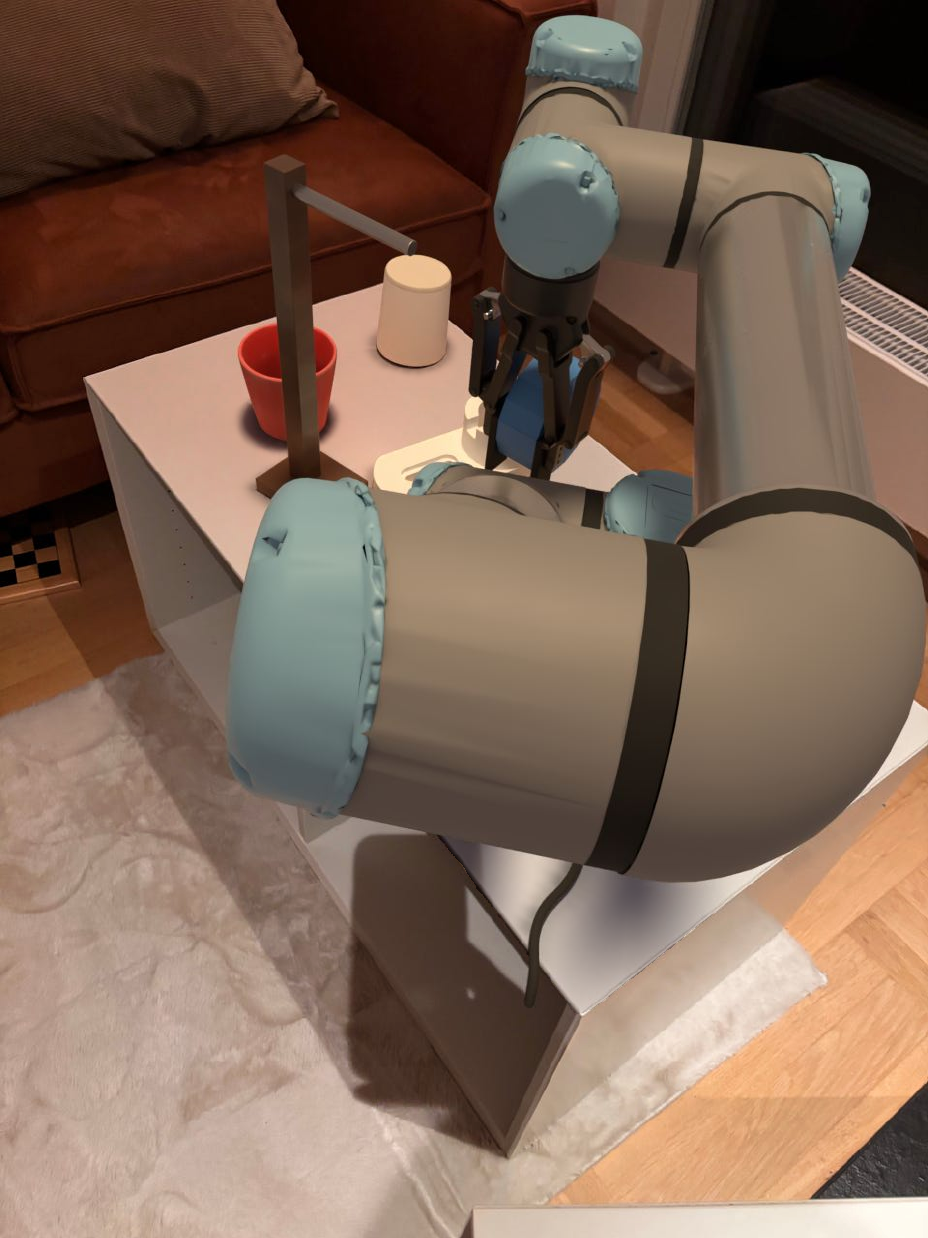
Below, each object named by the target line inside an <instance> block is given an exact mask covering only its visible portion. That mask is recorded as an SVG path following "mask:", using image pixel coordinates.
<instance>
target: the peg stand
mask: <svg viewBox="0 0 928 1238" xmlns="http://www.w3.org/2000/svg"><path fill="white" fill-rule="evenodd" d="M262 165H263V176H264V186H265V187H264V188H265V200H266V211H267V212H266V213H267V225H268V234H269V236H268V237H269V246H270V247H269V248H270V260H271V270H272V282H273V283H272V284H273V292H274V306H275V317H276V318H275V319H276V323H277V331H278V343H279V354H280V366H281V378H282V390H283V402H284V413H285V425H286V437H287V441H286V447H287V457H285V458H284V459H282V460H281V461H279V462H278V463H277V464H275V465H274V466H272V467H270V468H268V469H267V470H266V471H264V472H262V473H261V474H260V475H258V476H257V477H256V478H255V487H256V490H257V491H259V492H260V493H262V494H263V495H265V496H266V497H268V498H269V499H270V500H271V499H272V497H273V496H274V495H275V493H276V492H277V491H278V490H279V489H280V488H281V487H282V486H283V485H284V484H286V483H288V482H290V481H292V480H295V479H299V478H312V479H320V480H327V481H335V482H336V481H338V480H340V479H342V478H348V477H349V478H352V479H355V480H358V481H361V482H362V483H364V484H365V485H366V486H367V487H369V480H368V479H366V478H364V477H363V476H361V475H359V474H358V473H357V472H355V471H353V470H352V469H350V468H348V467H347V466H345V465H343V464H342V463H340V462H339V461H337V460H336V459H334V458H333V457H331V456H330V455H327V453H324V452H323V451H321V446H320V432H319V425H318V405H317V385H316V365H315V345H314V327H315V325H314V309H313V308H314V306H313V287H312V286H313V285H312V269H311V268H312V267H311V246H310V229H309V227H310V226H309V208H308V207H311V208H312V209H315V210H317V211H319V212H321V213H323V214H324V215H327V216H328V217H330V218H332V219H334V220H336V221H338V222H340V223H342V224H344V225H346V226H348V227H350V228H352V229H354V230H355V231H358V232H360V233H362V234H364V235H366V236H368V237H370V238H372V239H374V240H376V241H378V242H380V243H382V244H384V245H386V246H388V247H390V248H392V249H394V250H396V251H398V252H400V253H402V254H404V255H408V256H413V255H416V253H417V250H418V242H417V241H416V240H414V239H412V238H410V237H408V236H407V235H405V234H402V233H401V232H398V231H396V230H394V229H392V228H391V227H388V226H386V225H385V224H382V223H380V222H378V221H376V220H374V219H372V218H371V217H368V216H366V215H364V214H362V213H361V212H358V211H356V210H354V209H352V208H350V207H348V206H346V205H344V204H342V203H340V202H338V201H336V200H334V199H331V198H330V197H328V196H326V195H323V194H321V193H319V192H318V191H315V190H314V189H311V188H310V187H307V169H306V168H307V166H306V163H304V162H302V161H300V160H298V159H296V158H294V157H291V156H289V155H288V154H286V153H284V154H281V155H277V156H276V157H274V158H272V159H269V160H267V161H264V162H263V164H262Z"/></svg>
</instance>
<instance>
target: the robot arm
mask: <svg viewBox="0 0 928 1238" xmlns="http://www.w3.org/2000/svg"><path fill="white" fill-rule="evenodd" d="M533 34H534V35H533V37H532V42H531V47H530V53H529V59H528V65H527V66H526V67H525V77H526V79H525V89H524V97H523V102H522V107H521V111H520V114H519V117H518V119H517V120H518V121H517V123H516V126H515V129H514V134H513V140H512V142H511V144H510V148H509V150H508V153H507V154H506V157H505V159H504V160H503V162H502V164H501V167H500V171H499V178H498V186H497V192H496V195H495V200H494V205H493V221H494V228H495V233H496V236H497V238H498V241H499V243H500V246H501V247H502V249H503V250H504V252H505V253H504V261H503V269H502V277H501V284H500V285H501V291H500V292H498V289H496V288H495V287H493V286H489V287H488V288H486V289H484V290H483V291H481V292H480V293H478V294H477V295H475V296H473V297H472V298H471V299H470V302H469V305H470V309H471V314H472V315H471V316H472V319H473V330H472V332H473V334H472V343H471V353H470V354H471V355H470V365H469V366H470V368H469V379H468V387H467V388H468V393H469V395H470V396H471V397H472V396H473V397H479V398H480V399H481V400H482V401H483V405H484V408H485V416H484V424H483V431H484V434H485V435H487V436H489V437H488V445H487V453H486V461H485V469H482V468H477V467H473V466H472V465H470V464H467V463H463V462H452V463H444V462H433V463H430V464H428V465H426V466H425V467H423V468H422V469H421V470H420V471H419V472H418V473H417V475H416V476H415V478H414V480H413V482H412V488H410V489H409V490H408V492H407V494H403V493H398V492H392V491H387V490H381V489H375V488H373V487H369V486H368V487H367V486H366V485H365V484H364V483H362V482H361V481H358V480H355V479H352V478H349V477H348V478H342V479H340V480H338V481H336V482H335V481H327V480H320V479H312V478H299V479H295V480H292V481H290V482H288V483H286V484H284V485H283V486H282V487H281V488H280V489H279V490H278V491H277V492H276V493H275V495H274V496H273V497H272V499H271V498H270V501H268V504H267V506H266V509H265V511H264V512H263V516H262V518H261V521H260V524H259V525H258V526H259V527H258V529H257V532H256V534H255V538H254V541H253V545H252V548H251V553H250V555H249V559H248V563H247V567H246V572H245V576H244V579H243V585H242V589H241V593H240V598H239V605H238V609H237V614H236V619H235V626H234V631H233V632H234V633H233V638H232V639H233V640H232V644H231V652H230V659H229V665H228V666H229V668H228V676H227V685H226V695H225V698H226V699H225V713H224V736H225V737H224V738H225V751H226V757H227V763H228V767H229V768H230V771H231V773H232V775H233V777H234V779H235V780H236V782H237V783H238V784H239V786H240V787H241V788H243V789H244V790H245V791H246V792H248V793H249V794H251V795H253V796H254V797H256V798H260V799H264V800H268V801H272V802H277V803H280V804H284V805H287V806H290V807H291V806H292V807H296V808H298V809H302V810H305V811H307V812H308V813H309V815H311V816H312V817H314V818H317V819H319V820H326V821H327V820H333V819H335V818H337V817H338V816H339V815H340V816H346V817H351V818H356V819H361V820H365V821H370V822H373V823H378V824H379V823H380V824H383V825H389V826H394V827H399V828H404V829H408V830H412V831H417V832H423V833H427V834H433V835H437V836H441V837H447V838H452V839H457V840H461V841H466V842H471V843H476V844H479V845H485V846H491V847H495V848H500V849H504V850H509V851H515V852H519V853H525V854H528V855H533V856H539V857H543V858H549V859H554V860H558V861H562V862H568V863H571V866H570V868H569V870H568V871H567V874H566V875H565V876H564V877H563V879H562V880H561V882H559V884H558V885H557V886H556V887H555V888H554V889H553V890H552V891H550V893H549V894H548V895H547V896H546V897H545V898H544V899H543V901H542V903H541V904H540V905H539V907H538V909H537V910H536V912H535V914H534V917H533V918H532V922H531V925H530V930H529V938H528V976H527V977H528V978H527V985H526V989H525V994H524V999H523V1005H524V1007H525V1008H527V1009H531V1008H533V1007H534V1006H535V1003H536V998H537V994H538V989H539V981H540V941H541V940H540V939H541V933H542V929H543V925H544V924H545V920H546V918H547V916H548V914H549V912H551V910H552V909H553V908H554V906H555V905H556V904H557V903H558V902H559V901H560V899H561V898H562V897H563V896H564V895H565V894H566V893H567V892H568V891H569V890H570V889H571V888H572V886H573V885H574V883H576V880H577V879H578V877H579V875H580V873H581V870H582V868H583V866H586V867H590V868H595V869H600V870H605V871H610V872H615V873H617V874H618V875H621V876H626V877H629V878H633V879H637V880H642V881H648V882H649V881H650V882H656V883H657V882H658V883H666V884H667V883H668V884H674V883H675V884H677V883H678V884H680V883H699V882H704V881H705V882H706V881H711V880H718V879H723V878H726V877H730V876H734V875H737V874H741V873H744V872H748V871H752V870H755V869H757V868H758V867H761V866H762V865H765V864H767V863H769V862H772V861H774V860H775V859H778V858H780V857H782V856H784V855H786V854H788V853H790V852H792V851H795V849H798V848H799V847H800V846H802V845H804V844H805V843H806V842H808V841H809V840H811V839H813V838H814V837H816V836H817V835H819V833H821V832H822V831H823V830H825V829H826V827H828V826H829V825H830V824H832V823H833V822H834V821H835V820H836V819H838V817H839V816H840V815H841V814H842V813H843V812H844V811H845V810H846V809H847V808H848V807H849V806H850V805H852V803H853V802H854V801H855V800H856V799H857V798H858V797H859V796H860V795H861V794H862V793H863V792H864V790H865V789H866V788H867V787H868V786H869V784H870V783H871V782H872V781H873V779H874V778H875V777H876V775H877V774H878V773H879V771H880V770H881V768H882V767H883V765H884V764H885V762H886V760H887V759H888V757H889V755H890V754H891V752H892V750H893V749H894V746H895V744H896V742H897V740H898V738H899V737H900V735H901V733H902V730H903V728H904V727H905V725H906V723H907V721H908V719H909V716H910V712H911V710H912V707H913V703H914V700H915V698H916V694H917V691H918V687H919V686H920V681H921V679H922V675H923V668H924V660H925V654H926V653H925V652H926V646H927V600H926V596H925V595H926V594H925V589H924V585H923V577H922V574H921V573H922V572H921V569H920V564H919V559H918V555H917V551H916V547H915V544H914V540H913V538H912V536H911V534H910V532H909V530H908V529H907V527H906V526H905V524H904V523H903V522H902V520H901V519H900V518H898V516H897V515H896V514H895V513H894V512H893V511H892V510H890V509H889V508H888V507H886V506H884V505H883V504H882V503H881V502H879V501H878V498H877V494H876V489H875V482H874V477H873V476H874V475H873V471H872V465H871V459H870V454H869V448H868V443H867V437H866V432H865V431H866V430H865V427H864V420H863V415H862V410H861V404H860V399H859V393H858V388H857V383H856V376H855V371H854V364H853V359H852V354H851V353H852V352H851V348H850V342H849V337H848V332H847V327H846V321H845V320H846V319H845V314H844V310H843V304H842V299H841V293H840V288H839V285H840V284H841V282H842V281H843V280H844V279H845V278H846V276H847V274H848V273H849V271H850V269H851V267H852V265H853V264H854V261H855V259H856V256H857V254H858V251H859V249H860V246H861V244H862V240H863V236H864V235H865V230H866V226H867V222H868V217H869V211H870V210H869V207H868V206H869V201H870V198H871V186H870V180H869V178H868V175H867V174H866V173H865V171H864V170H863V169H862V168H860V167H858V166H856V165H853V164H849V163H845V162H841V161H837V160H833V159H829V158H826V157H822V156H821V155H819V154H817V153H809V152H801V153H799V152H798V153H797V152H790V151H783V150H778V149H777V150H776V149H771V148H763V147H757V146H750V145H743V144H737V143H729V142H722V141H715V140H709V139H701V138H697V137H691V136H686V135H679V134H673V133H667V132H661V131H654V130H648V129H643V128H636V127H631V126H630V125H631V120H632V115H633V110H634V105H635V104H634V103H635V101H636V95H638V94H639V89H640V88H639V87H640V85H639V81H640V73H641V68H642V62H643V56H644V49H643V44H642V42H641V40H640V37H638V35H637V34H636V33H635V32H634V31H633V30H631V29H630V28H628V27H627V26H625V25H623V24H621V23H619V22H616V21H614V20H610V19H607V18H602V17H595V16H589V15H578V14H574V15H573V14H571V15H561V16H556V17H553V18H550V19H547V20H546V21H544V22H543V23H542V24H540V25H539V26H538V28H537V29H536V30H535V31H534V33H533ZM602 258H604V259H611V260H617V261H621V262H622V261H623V262H630V263H635V264H641V265H646V266H647V265H648V266H654V267H658V268H659V267H660V268H665V269H671V270H676V271H682V272H687V273H692V274H693V273H694V274H696V276H697V278H696V279H697V280H696V322H695V325H696V326H695V365H694V408H693V443H692V444H693V448H692V449H693V451H692V476H689V475H687V474H683V473H681V472H680V473H679V472H677V471H672V470H667V469H643V470H640V471H639V472H637V474H635V473H630V474H627V475H625V476H624V477H622V478H621V479H620V480H619V481H617V482H616V484H614V486H613V487H610V490H609V491H604V490H599V489H594V488H587V487H586V486H581V485H575V484H569V483H566V482H565V483H564V482H559V481H553V480H551V477H552V473H551V472H552V470H553V469H554V468H555V467H557V466H558V465H559V464H560V463H561V462H562V458H563V453H564V449H565V448H567V449H573V448H574V447H575V446H576V445H577V444H578V443H579V444H580V443H581V442H582V441H583V440H585V438H587V437H588V436H589V434H590V429H591V425H592V422H593V419H594V416H593V414H594V415H595V413H594V410H595V406H596V402H597V398H598V394H599V390H600V386H601V387H602V382H603V378H604V374H605V371H606V369H607V368H608V367H609V365H610V364H611V362H612V361H613V360H614V358H615V357H616V350H615V348H614V347H613V346H612V345H609V344H606V345H604V346H603V347H602V346H601V345H600V343H598V342H597V341H596V340H595V339H594V338H593V337H592V336H591V325H590V321H589V312H590V310H591V307H592V305H593V301H594V296H595V292H596V287H597V282H598V278H599V273H600V270H601V269H600V268H601V259H602ZM502 320H503V323H504V325H505V328H506V330H507V334H506V336H505V339H504V341H503V344H502V347H501V349H500V353H501V356H500V358H499V361H498V354H499V347H500V338H501V337H500V336H501V328H502ZM577 348H578V350H579V353H580V356H579V360H580V362H579V363H578V366H579V368H581V370H580V371H579V373H578V376H577V379H576V382H575V387H574V391H573V396H572V400H571V405H570V365H571V364H572V360H573V356H574V355H573V353H574V352H573V351H574V350H575V349H577ZM527 355H529V356H531V357H532V358H533V359H534V358H535V359H536V360H537V361H538V373H539V375H540V376H542V386H543V409H544V433H545V434H543V435H542V436H541V437H540V438H539V439H537V440H536V445H535V451H534V456H533V462H532V468H531V473H530V476H529V477H526V476H521V475H515V474H510V473H504V472H499V471H493V470H494V469H495V468H496V467H497V466H499V465H500V464H501V463H502V462H504V461H505V460H506V459H507V456H506V455H504V454H502V453H501V452H499V450H498V446H497V442H496V432H497V425H498V419H499V416H500V414H501V411H502V408H503V405H504V403H505V400H506V397H507V396H508V394H509V392H510V390H511V388H512V387H513V385H514V383H515V381H516V380H517V378H518V376H519V375H520V372H521V371H522V367H523V365H524V362H525V360H526V358H527Z"/></svg>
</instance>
